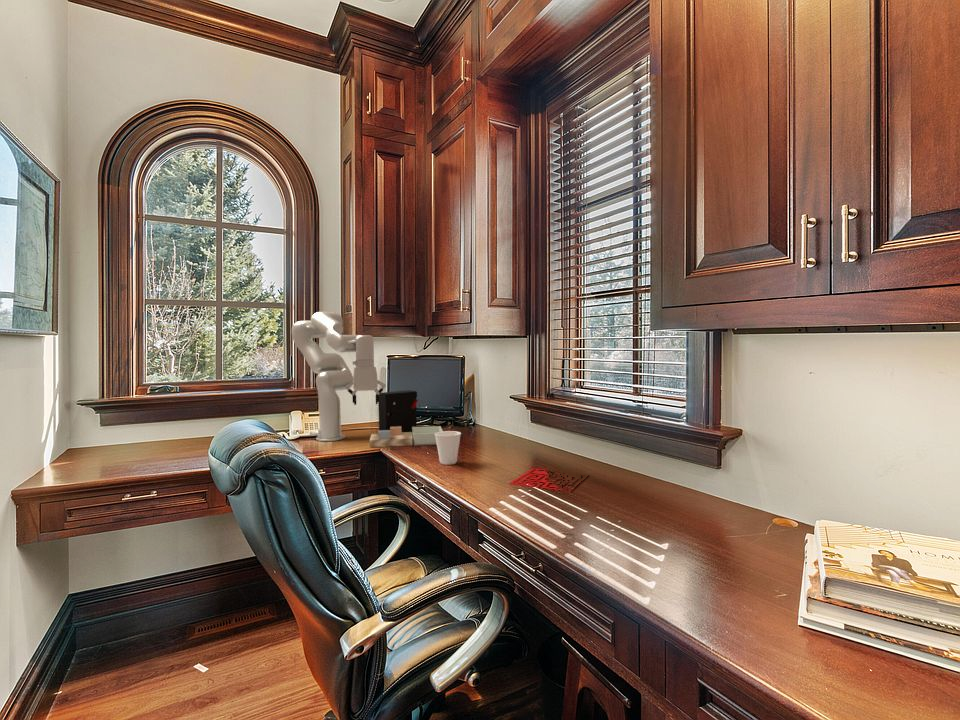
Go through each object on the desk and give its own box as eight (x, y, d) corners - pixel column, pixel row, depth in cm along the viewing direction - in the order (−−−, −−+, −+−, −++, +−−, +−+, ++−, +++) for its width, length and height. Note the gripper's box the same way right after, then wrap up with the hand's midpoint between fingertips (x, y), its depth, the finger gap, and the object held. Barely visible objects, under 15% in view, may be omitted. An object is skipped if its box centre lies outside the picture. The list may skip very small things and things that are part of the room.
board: (369, 447, 215) (369, 440, 215) (371, 440, 230) (371, 433, 230) (412, 445, 218) (412, 438, 218) (411, 438, 233) (411, 432, 233)
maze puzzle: (509, 485, 159) (509, 483, 159) (532, 470, 177) (532, 468, 176) (570, 493, 150) (570, 491, 150) (589, 476, 167) (589, 474, 167)
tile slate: (378, 439, 217) (378, 432, 217) (378, 437, 222) (378, 430, 222) (390, 438, 218) (389, 432, 217) (390, 436, 222) (390, 430, 222)
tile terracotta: (390, 435, 225) (390, 428, 225) (390, 433, 230) (390, 426, 230) (401, 434, 226) (401, 428, 226) (401, 432, 231) (401, 426, 231)
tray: (413, 445, 217) (413, 434, 217) (412, 438, 234) (412, 427, 234) (443, 444, 219) (443, 432, 219) (440, 436, 236) (440, 426, 236)
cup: (462, 459, 192) (462, 430, 191) (460, 466, 182) (460, 435, 181) (436, 459, 192) (435, 431, 191) (433, 466, 182) (432, 436, 181)
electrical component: (408, 428, 258) (407, 389, 257) (418, 431, 250) (418, 391, 249) (377, 433, 247) (376, 392, 246) (387, 436, 239) (386, 394, 238)
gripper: (343, 364, 212) (344, 406, 213) (385, 363, 215) (386, 404, 216) (345, 364, 219) (346, 403, 220) (385, 363, 222) (386, 402, 223)
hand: (366, 404), depth 218 cm, fingers open, 8 cm apart
